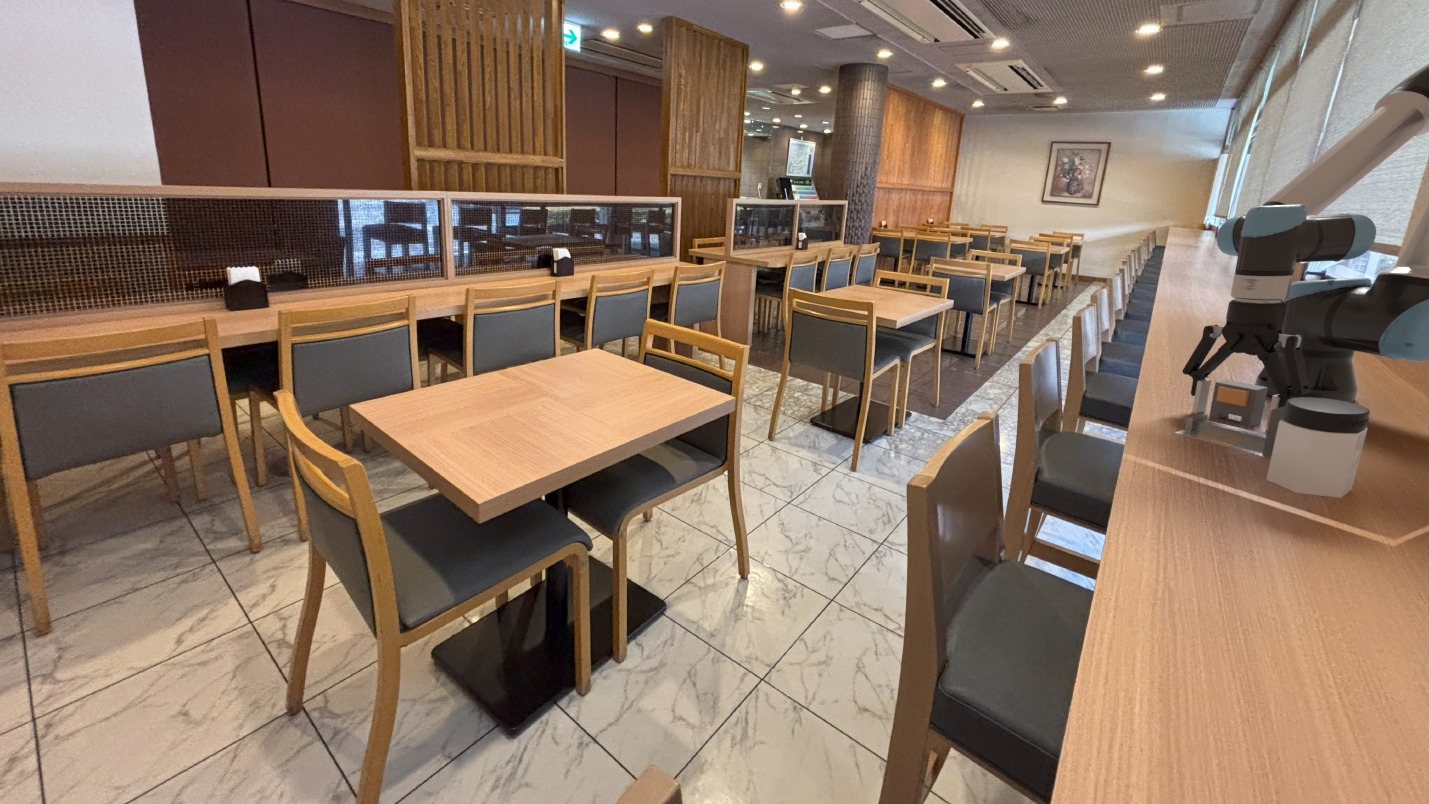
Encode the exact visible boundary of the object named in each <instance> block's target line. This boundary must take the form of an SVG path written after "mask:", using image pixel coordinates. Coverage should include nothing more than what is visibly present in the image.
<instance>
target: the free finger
mask: <svg viewBox="0 0 1429 804" xmlns="http://www.w3.org/2000/svg"><path fill="white" fill-rule="evenodd" d="M1267 390H1268V387H1263V386H1258V385H1255V384H1251V383H1245V382H1241V381H1236V380H1230V379H1223V380H1220V381H1215V383H1214V389H1213V395H1212V400H1211V404H1210V411H1209V414H1208V418H1211V419H1215V420H1219V419H1223V418H1228V417H1229V415H1232V416H1237V417H1241V418H1240V422H1239V425H1240V426H1241V425H1242V426H1245V427H1249V428H1250V427H1253V426H1256V425H1260V424H1261V423H1262V422H1261V421H1262V417H1263V413H1264V409H1265V404H1266V403H1265V402H1266V399H1267V396H1268V395H1267Z"/></svg>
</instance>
